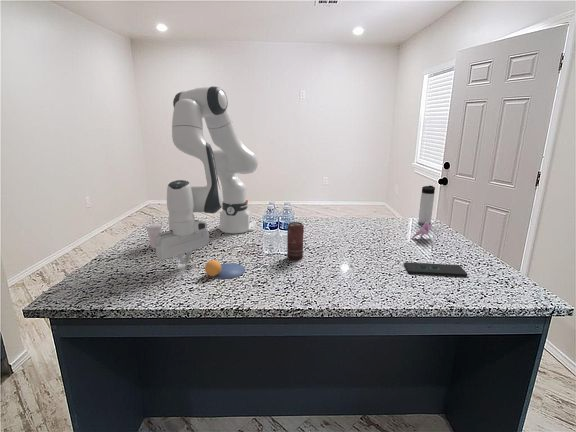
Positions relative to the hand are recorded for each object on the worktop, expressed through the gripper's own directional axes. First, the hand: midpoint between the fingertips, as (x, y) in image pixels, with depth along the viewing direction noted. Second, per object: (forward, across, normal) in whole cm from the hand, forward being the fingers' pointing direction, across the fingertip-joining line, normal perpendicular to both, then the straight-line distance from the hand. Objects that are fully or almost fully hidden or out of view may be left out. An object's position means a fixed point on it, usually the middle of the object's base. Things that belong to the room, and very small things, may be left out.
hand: (185, 263), depth 123 cm
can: (+2, +33, -25) cm, 42 cm away
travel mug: (+2, +115, -49) cm, 125 cm away
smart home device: (+2, +56, -71) cm, 91 cm away
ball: (-1, +2, -13) cm, 14 cm away
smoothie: (+2, +4, +27) cm, 28 cm away
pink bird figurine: (+2, +88, -58) cm, 105 cm away
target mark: (+2, +8, -14) cm, 16 cm away
